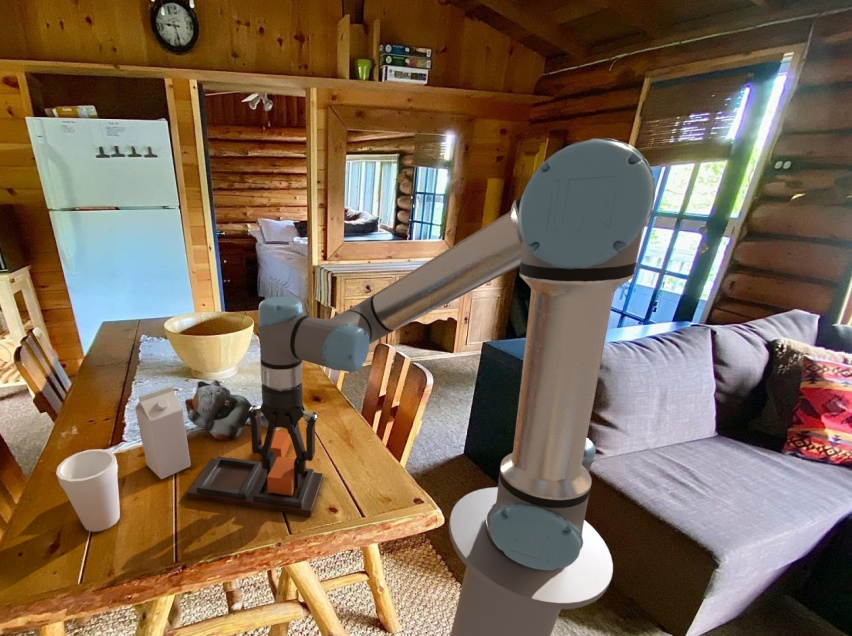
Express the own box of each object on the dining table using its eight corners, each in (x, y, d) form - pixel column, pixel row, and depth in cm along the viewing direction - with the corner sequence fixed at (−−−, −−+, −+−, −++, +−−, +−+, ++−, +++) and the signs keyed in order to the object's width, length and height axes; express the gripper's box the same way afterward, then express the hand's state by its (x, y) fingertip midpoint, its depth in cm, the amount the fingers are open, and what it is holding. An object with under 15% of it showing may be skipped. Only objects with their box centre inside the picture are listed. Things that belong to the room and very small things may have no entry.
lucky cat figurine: (232, 447, 106) (197, 405, 100) (201, 449, 113) (167, 409, 107) (262, 405, 116) (233, 364, 110) (232, 409, 123) (202, 371, 117)
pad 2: (300, 474, 94) (300, 459, 93) (291, 496, 88) (291, 480, 86) (277, 471, 95) (277, 456, 93) (267, 492, 89) (267, 476, 87)
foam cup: (139, 508, 87) (126, 454, 81) (105, 542, 79) (88, 485, 73) (99, 498, 89) (84, 445, 83) (62, 530, 81) (43, 474, 75)
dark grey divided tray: (323, 478, 97) (323, 468, 96) (311, 516, 86) (311, 506, 85) (211, 463, 101) (210, 453, 99) (187, 498, 90) (185, 487, 89)
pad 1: (289, 446, 108) (289, 432, 106) (281, 463, 101) (281, 448, 100) (269, 443, 108) (269, 430, 107) (260, 460, 102) (259, 446, 100)
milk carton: (146, 465, 99) (131, 391, 91) (175, 453, 104) (164, 381, 95) (161, 480, 95) (146, 403, 86) (191, 466, 99) (180, 392, 91)
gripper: (333, 378, 83) (330, 477, 93) (242, 369, 86) (249, 466, 96) (326, 397, 76) (323, 500, 87) (227, 386, 79) (236, 488, 90)
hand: (284, 482), depth 91 cm, fingers closed on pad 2, 5 cm apart
